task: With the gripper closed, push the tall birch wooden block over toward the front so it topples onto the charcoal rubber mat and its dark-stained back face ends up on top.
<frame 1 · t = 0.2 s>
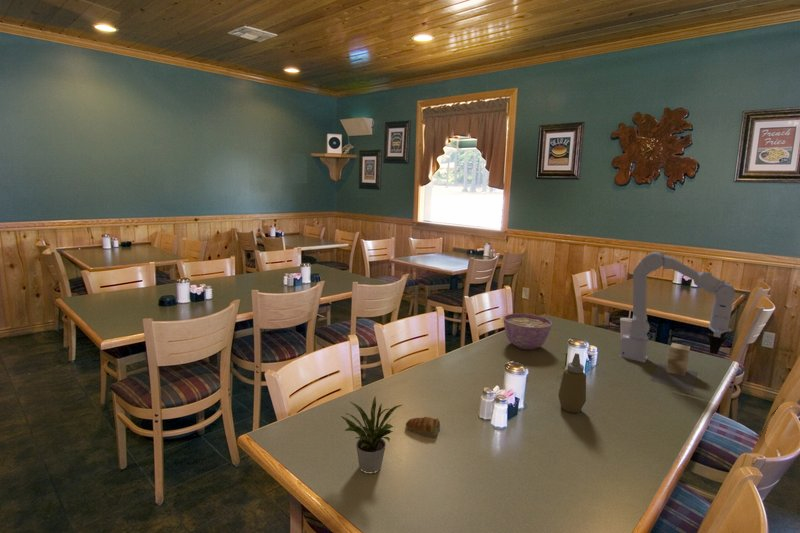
hand: (714, 350, 170), 10 cm above the table, tool pointing down, fingers open, 7 cm apart
rubber mat: (674, 377, 168), on the table
bowl of food: (524, 346, 195), on the table
pastry: (424, 431, 126), on the table
smoothie: (624, 340, 208), on the table
squeeze bottle: (570, 409, 142), on the table
house plant: (373, 465, 110), on the table
birch block: (676, 371, 172), resting on rubber mat
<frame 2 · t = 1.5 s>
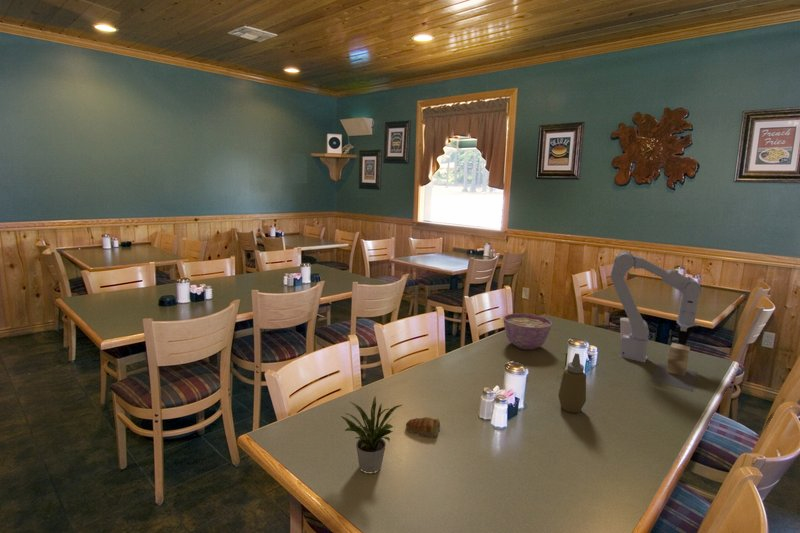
hand: (682, 344, 178), 9 cm above the table, tool pointing down, fingers closed
nothing on the table moved.
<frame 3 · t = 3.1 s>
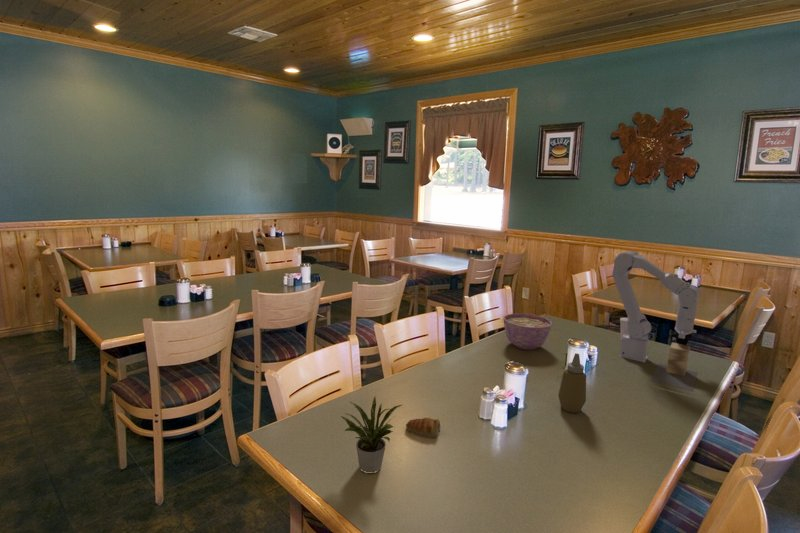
hand: (680, 351, 174), 8 cm above the table, tool pointing down, fingers closed
birch block: (676, 371, 172), point 1 cm above the table, touching gripper, rubber mat
everything else where it was.
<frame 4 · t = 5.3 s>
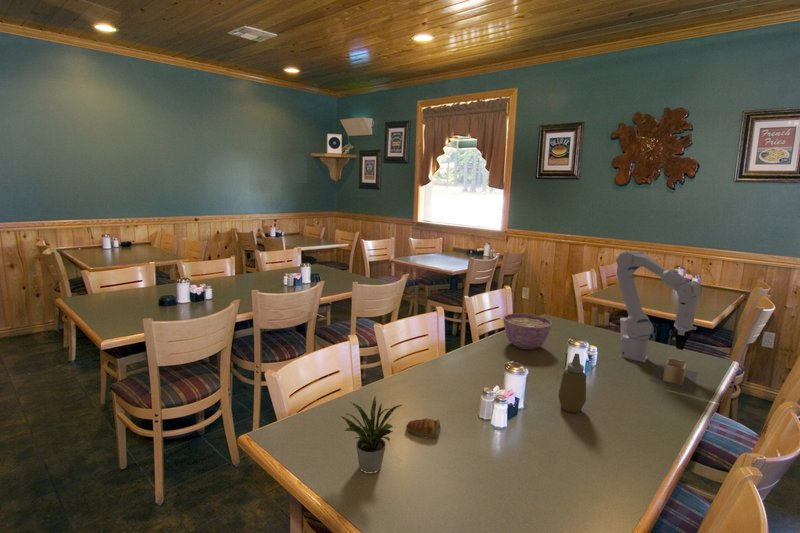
hand: (679, 348, 170), 10 cm above the table, tool pointing down, fingers closed
birch block: (676, 366, 170), point 3 cm above the table, tilted 90°, touching rubber mat
everything else where it was.
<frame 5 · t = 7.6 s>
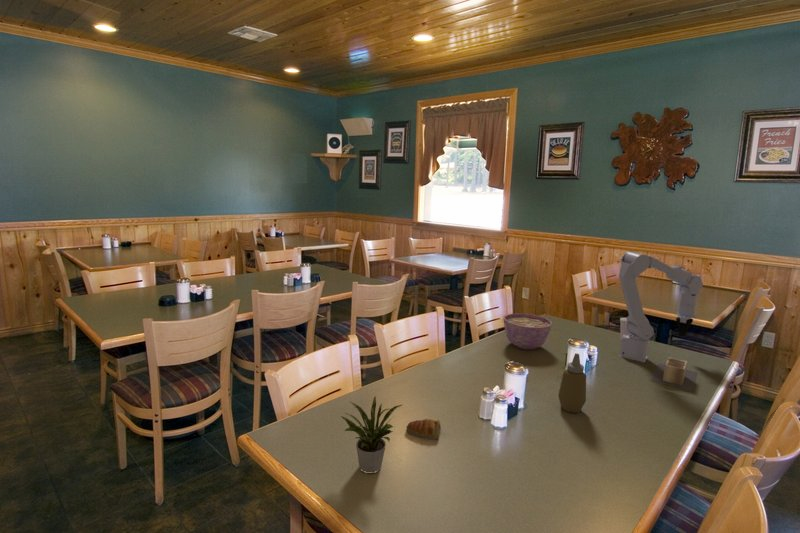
hand: (681, 335, 186), 10 cm above the table, tool pointing down, fingers closed
at the end: birch block tilted 90°; birch block inside the target area (0.0 cm from its centre), point 3.5 cm above the table; birch block touching rubber mat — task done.
